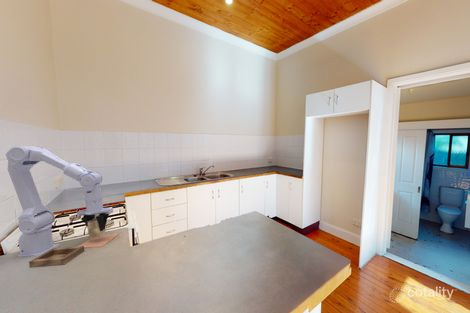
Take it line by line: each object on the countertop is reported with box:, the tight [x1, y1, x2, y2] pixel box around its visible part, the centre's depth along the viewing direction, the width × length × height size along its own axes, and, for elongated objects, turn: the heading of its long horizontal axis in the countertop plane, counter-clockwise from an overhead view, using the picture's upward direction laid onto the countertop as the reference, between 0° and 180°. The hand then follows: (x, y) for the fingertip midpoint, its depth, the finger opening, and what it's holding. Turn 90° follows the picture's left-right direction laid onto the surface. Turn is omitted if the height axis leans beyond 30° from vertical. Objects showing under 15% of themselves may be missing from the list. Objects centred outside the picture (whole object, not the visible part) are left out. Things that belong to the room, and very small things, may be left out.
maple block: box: [87, 218, 106, 239], centre depth 79 cm, size 4×4×7 cm
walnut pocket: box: [28, 245, 85, 268], centre depth 68 cm, size 12×8×2 cm
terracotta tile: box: [77, 233, 120, 249], centre depth 80 cm, size 11×11×1 cm
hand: (97, 230), depth 80 cm, fingers closed on maple block, 4 cm apart
